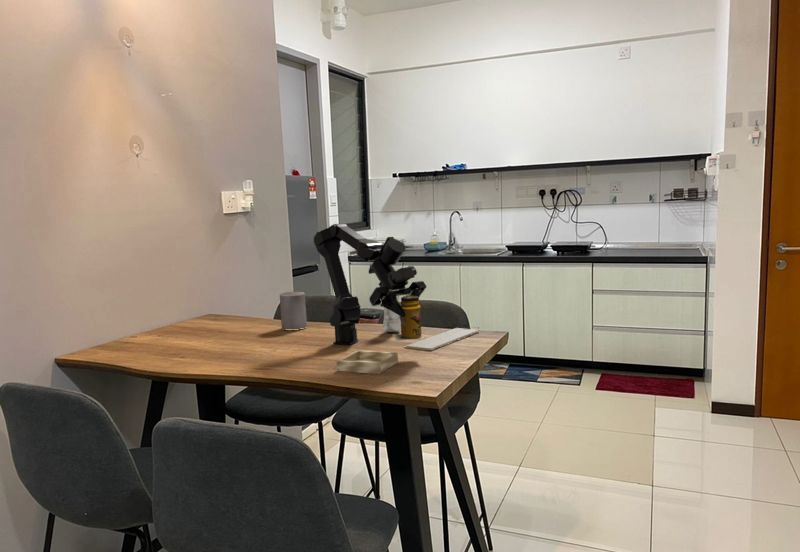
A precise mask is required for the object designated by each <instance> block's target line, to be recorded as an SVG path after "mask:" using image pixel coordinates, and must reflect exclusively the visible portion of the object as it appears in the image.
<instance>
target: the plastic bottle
mask: <svg viewBox="0 0 800 552" xmlns="http://www.w3.org/2000/svg"><path fill="white" fill-rule="evenodd" d="M396 298H397V301H398V302H399V301H400V296H396ZM382 328H383V331H384V332H386V333H389V332H394V333H398V332H401V318H400V316H399V315H398V314H396V313H394V312H393V311H391V310H389V309H387V308H385V307H383V323H382Z"/></svg>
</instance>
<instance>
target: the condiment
mask: <svg viewBox="0 0 800 552" xmlns="http://www.w3.org/2000/svg"><path fill="white" fill-rule="evenodd" d="M400 300H401V301H400V306H401V308H402V309H403V311H404V313H405V317H401V316H399V317H400V321H401V329H400V333H397V334H396V333H393V334H392V337H393V338H394V339H395V340H396V342H397V341H405V340H406V341H407V340H420V339H421V340H424V339H426V337H425V336H424V335H422V317H421V316H422V315H421V314H422V308H421V304H420V305H419V303H420V297H419V298H418V296H405V295H403V296H401V298H400ZM420 308H421V309H420Z"/></svg>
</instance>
